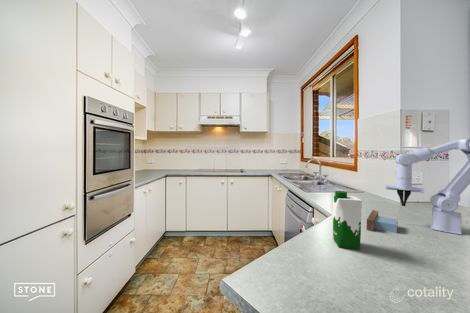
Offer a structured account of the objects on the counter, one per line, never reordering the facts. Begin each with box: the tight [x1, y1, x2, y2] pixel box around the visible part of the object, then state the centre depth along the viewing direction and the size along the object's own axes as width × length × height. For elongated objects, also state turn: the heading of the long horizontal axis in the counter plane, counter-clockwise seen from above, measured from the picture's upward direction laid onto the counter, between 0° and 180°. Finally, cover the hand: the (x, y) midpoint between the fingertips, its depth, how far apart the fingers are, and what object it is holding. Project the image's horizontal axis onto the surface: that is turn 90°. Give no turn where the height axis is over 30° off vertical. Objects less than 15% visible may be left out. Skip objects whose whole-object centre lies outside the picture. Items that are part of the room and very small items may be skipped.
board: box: [366, 209, 379, 232], centre depth 99 cm, size 2×20×5 cm, turn 140°
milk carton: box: [332, 190, 363, 250], centre depth 77 cm, size 9×9×20 cm
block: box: [374, 215, 399, 234], centre depth 95 cm, size 8×10×4 cm
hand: (403, 205), depth 100 cm, fingers closed
